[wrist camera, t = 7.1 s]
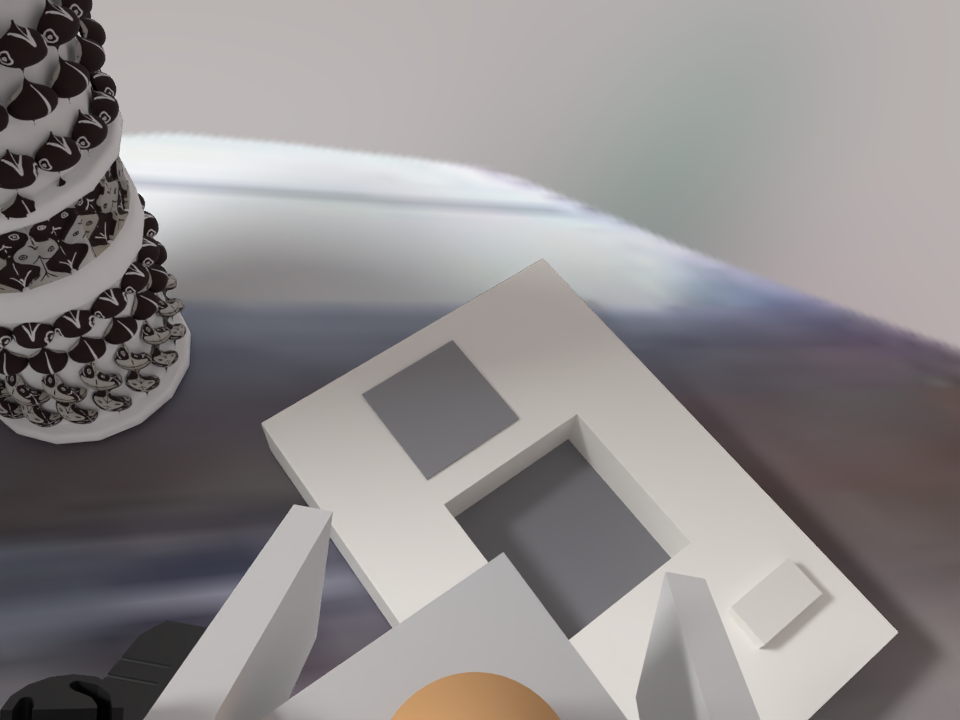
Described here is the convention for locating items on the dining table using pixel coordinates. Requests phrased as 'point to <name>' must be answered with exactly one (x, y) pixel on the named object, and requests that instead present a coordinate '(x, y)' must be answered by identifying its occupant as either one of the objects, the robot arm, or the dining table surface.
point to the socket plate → (566, 495)
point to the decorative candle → (75, 242)
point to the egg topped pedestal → (463, 664)
